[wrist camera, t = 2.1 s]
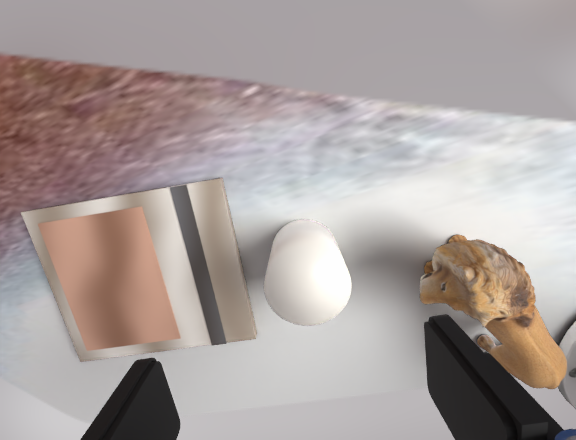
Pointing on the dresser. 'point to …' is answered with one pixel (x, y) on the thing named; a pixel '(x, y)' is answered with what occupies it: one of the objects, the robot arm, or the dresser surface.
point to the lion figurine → (496, 307)
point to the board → (145, 270)
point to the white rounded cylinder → (306, 274)
